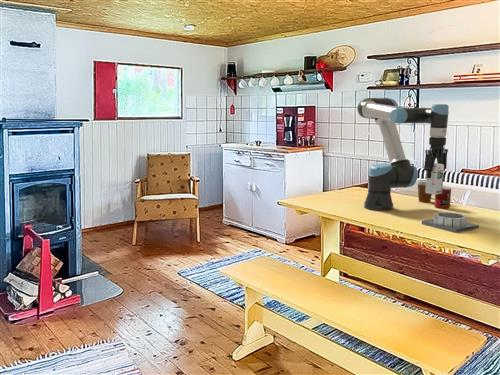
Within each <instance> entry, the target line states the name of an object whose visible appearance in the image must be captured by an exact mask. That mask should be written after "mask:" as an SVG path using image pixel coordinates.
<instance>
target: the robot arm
mask: <svg viewBox="0 0 500 375" xmlns="http://www.w3.org/2000/svg"><path fill="white" fill-rule="evenodd" d="M356 109H357V110H356V111H357V113H358V115H359V116H360V117H361V118H364V119H371V120H373V119H374V121H375V125H377V126H379V129H380V134H381V136H382V139H383V143H384V147H385V151H386V153H387V156H388V161H389V163H376V164H372V165H371V166H370V167H369V171H368V183H367V184H368V187H367V195H366V198H365V200H364V204H363V207H364V209H368V210H372V211H392V210H393V209H394V203H393V200H392V196H391V195H392V194H391V192H392V189H398V188H403V189H404V188H411V187H414V185H415V184H416V183H417V182H418V177H419V170H418V168H417V167H416V166H415V165H413V164H412V165H411V162H410V161H411V160H410V159H407V158H406V155H405V151H404V148H403V144H402V142H401V138H400V135H399V131H398V127H397V124H398V125H399V124H400V125H401V124H430V127H429V136H430V137H429V140H428V145H430V147H429V149H425V151H424V154H425V156H424V157H425V158H424V166H423V167H424V168H423V170H424V171H425V172H426V173H427V185H432V182H433V172H432V170H433V166H434V163H435V162H437V163H439V164H444V172H445V171H446V169H448V167H447V165H448V162H447V161H448V152H449V149H448V148H445V146H446V145H447V138H446V137H447V133H448V132H447V131H448V123H449V122H448V120H449V115H450V114H449V112H450V111H449V105H448V104H446V103H435V104H434V103H433V104H432V105H431V107H401V106H399V105H398V103H397V101H396V100H395V99H393V98H390V97H367V98H366V97H365V98H364V99H362V100H361V101H360V102H359V103H358V105H357V108H356Z"/></svg>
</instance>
